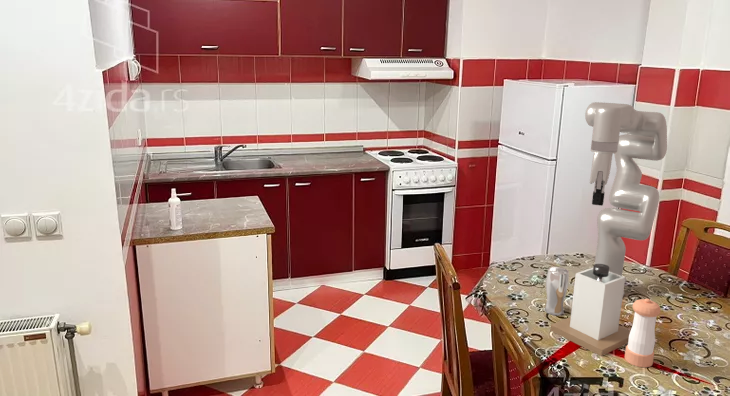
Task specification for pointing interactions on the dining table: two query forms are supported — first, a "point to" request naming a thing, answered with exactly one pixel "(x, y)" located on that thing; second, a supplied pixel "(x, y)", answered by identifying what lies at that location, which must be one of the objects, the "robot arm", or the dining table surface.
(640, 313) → the salt shaker
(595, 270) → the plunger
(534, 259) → the dining table surface
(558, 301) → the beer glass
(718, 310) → the dining table surface
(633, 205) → the robot arm
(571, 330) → the white pen holder
